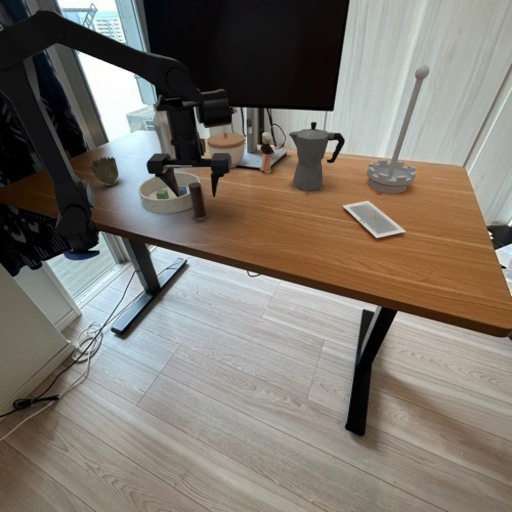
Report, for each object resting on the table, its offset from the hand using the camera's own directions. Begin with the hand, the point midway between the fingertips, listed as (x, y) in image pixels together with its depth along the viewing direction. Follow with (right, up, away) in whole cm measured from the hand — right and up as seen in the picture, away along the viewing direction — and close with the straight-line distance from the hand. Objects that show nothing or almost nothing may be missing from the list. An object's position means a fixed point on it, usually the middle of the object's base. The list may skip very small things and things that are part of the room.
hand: (196, 196), depth 68 cm
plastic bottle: (-15, +18, +30) cm, 38 cm away
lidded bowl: (+5, +18, +29) cm, 35 cm away
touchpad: (+44, -6, 0) cm, 45 cm away
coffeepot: (+32, +7, +16) cm, 36 cm away
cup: (-32, +8, +19) cm, 38 cm away
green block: (-12, +1, +10) cm, 16 cm away
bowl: (-9, +2, +11) cm, 15 cm away
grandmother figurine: (+19, +14, +24) cm, 33 cm away
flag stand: (+55, +7, +14) cm, 57 cm away
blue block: (-7, +3, +11) cm, 14 cm away
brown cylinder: (0, -4, +4) cm, 6 cm away
